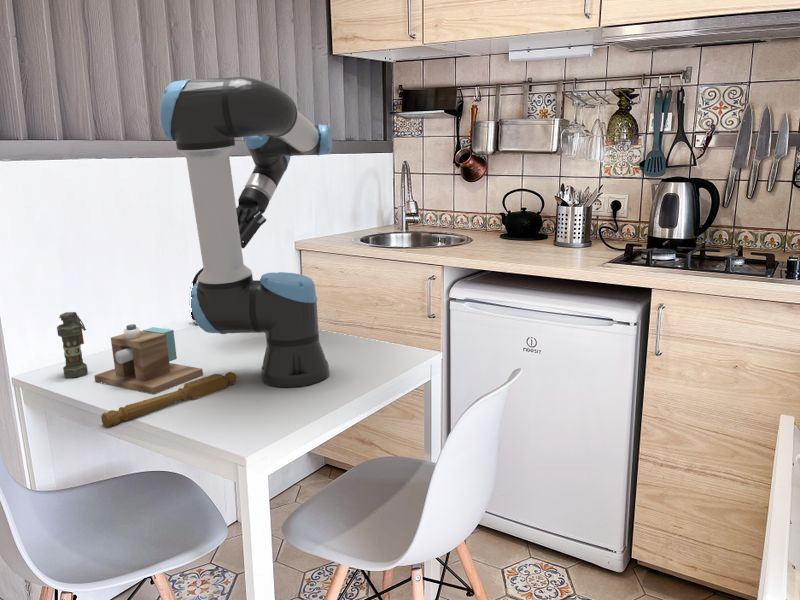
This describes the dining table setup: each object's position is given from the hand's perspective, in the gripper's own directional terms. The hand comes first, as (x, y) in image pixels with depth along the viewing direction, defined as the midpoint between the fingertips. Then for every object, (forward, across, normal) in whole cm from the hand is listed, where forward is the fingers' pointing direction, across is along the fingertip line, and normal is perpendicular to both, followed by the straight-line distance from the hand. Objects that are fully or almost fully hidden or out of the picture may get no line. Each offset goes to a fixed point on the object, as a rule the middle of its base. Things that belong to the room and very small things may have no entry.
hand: (219, 268), depth 170 cm
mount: (+32, +2, +2) cm, 32 cm away
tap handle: (+38, -17, +8) cm, 42 cm away
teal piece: (+30, +2, +5) cm, 30 cm away
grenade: (+35, +21, +6) cm, 41 cm away
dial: (+26, +2, +12) cm, 29 cm away
